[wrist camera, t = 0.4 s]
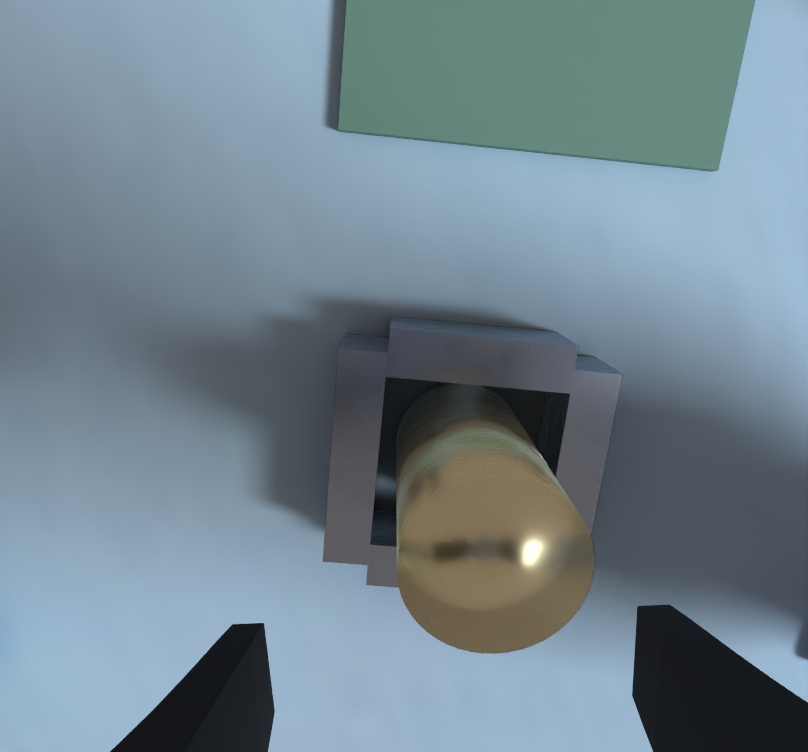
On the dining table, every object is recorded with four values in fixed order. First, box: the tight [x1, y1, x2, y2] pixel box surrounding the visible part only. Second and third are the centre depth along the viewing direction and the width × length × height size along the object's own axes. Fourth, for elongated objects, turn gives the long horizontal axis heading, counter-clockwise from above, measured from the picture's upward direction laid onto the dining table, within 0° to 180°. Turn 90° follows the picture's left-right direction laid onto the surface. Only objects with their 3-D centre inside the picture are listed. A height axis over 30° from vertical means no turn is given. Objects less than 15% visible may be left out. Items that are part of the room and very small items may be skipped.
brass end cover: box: [396, 383, 595, 653], centre depth 17 cm, size 4×4×8 cm
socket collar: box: [323, 316, 623, 587], centre depth 20 cm, size 9×9×2 cm
